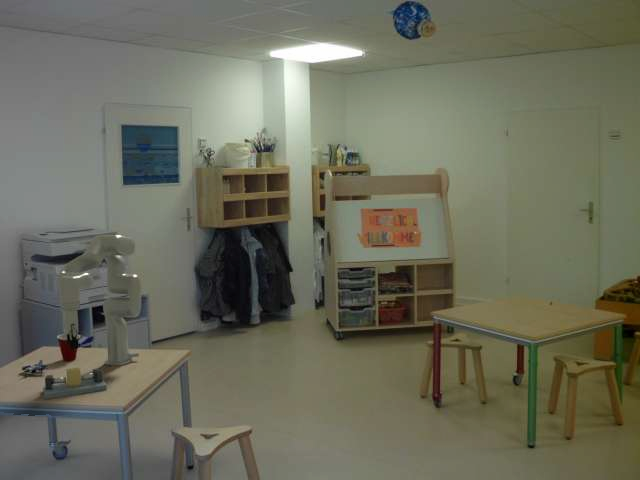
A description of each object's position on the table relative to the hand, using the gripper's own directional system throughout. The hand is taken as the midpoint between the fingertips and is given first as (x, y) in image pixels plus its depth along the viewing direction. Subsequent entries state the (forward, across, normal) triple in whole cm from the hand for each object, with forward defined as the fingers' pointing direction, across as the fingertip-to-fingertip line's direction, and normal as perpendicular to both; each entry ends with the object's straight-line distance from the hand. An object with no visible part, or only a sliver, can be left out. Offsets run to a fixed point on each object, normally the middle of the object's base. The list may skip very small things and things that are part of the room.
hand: (72, 345), depth 286 cm
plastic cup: (+20, -50, +4) cm, 54 cm away
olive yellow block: (+17, 0, 0) cm, 17 cm away
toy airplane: (+20, -33, -14) cm, 41 cm away
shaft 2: (+17, 0, +7) cm, 18 cm away
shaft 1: (+17, 0, -8) cm, 18 cm away
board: (+19, +1, 0) cm, 19 cm away
